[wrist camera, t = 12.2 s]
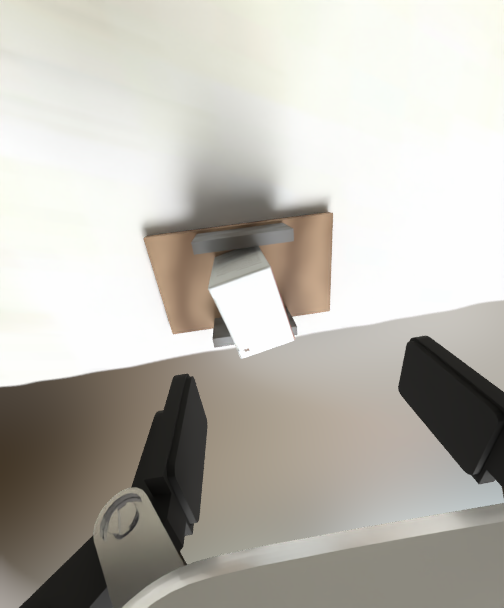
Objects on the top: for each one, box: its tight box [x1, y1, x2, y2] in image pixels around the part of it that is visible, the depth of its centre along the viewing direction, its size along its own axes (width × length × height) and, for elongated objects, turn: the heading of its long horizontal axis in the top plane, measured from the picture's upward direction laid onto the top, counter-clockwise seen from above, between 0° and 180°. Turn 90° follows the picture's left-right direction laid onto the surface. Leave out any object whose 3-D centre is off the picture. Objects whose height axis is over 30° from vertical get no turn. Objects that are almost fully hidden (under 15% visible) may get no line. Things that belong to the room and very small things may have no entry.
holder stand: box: [144, 212, 333, 347], centre depth 29 cm, size 22×13×6 cm, turn 96°
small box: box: [208, 246, 295, 358], centre depth 26 cm, size 8×6×10 cm
